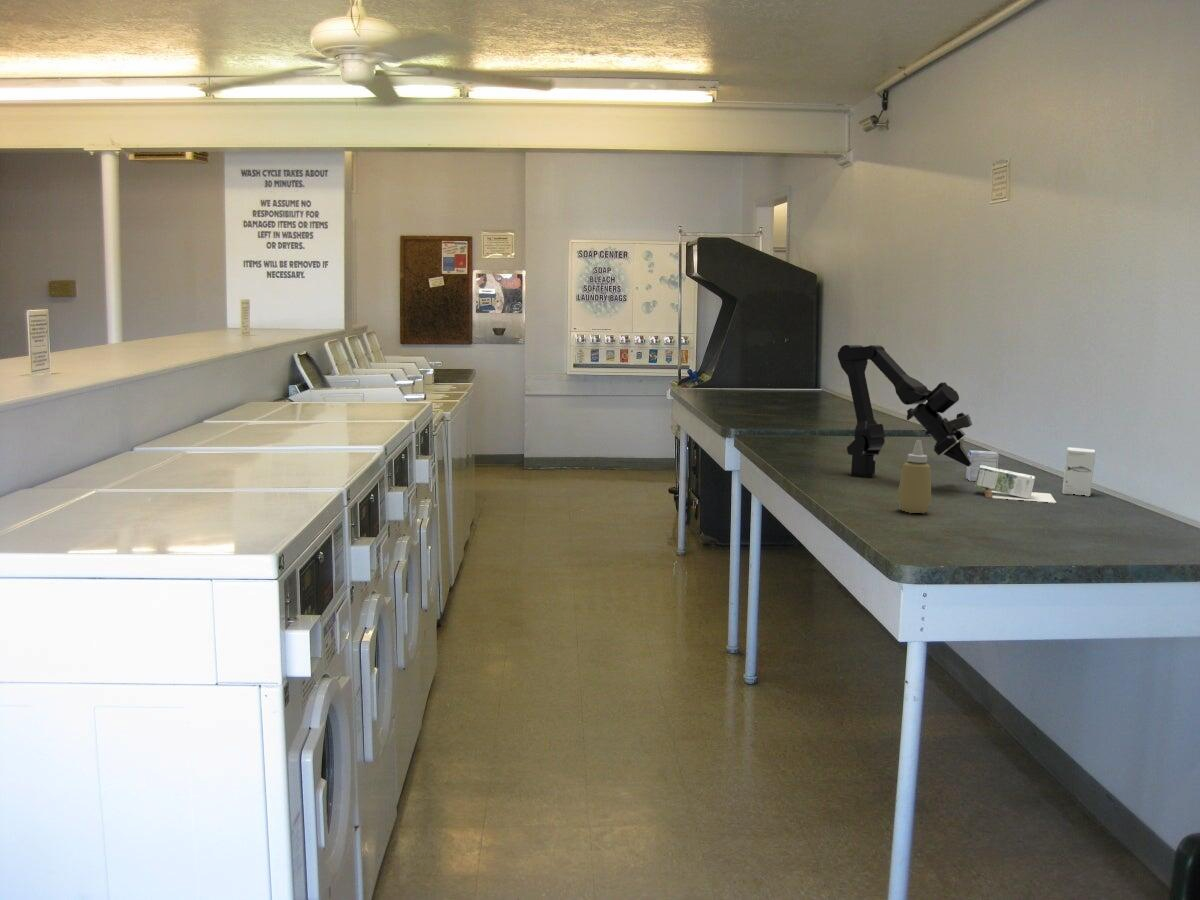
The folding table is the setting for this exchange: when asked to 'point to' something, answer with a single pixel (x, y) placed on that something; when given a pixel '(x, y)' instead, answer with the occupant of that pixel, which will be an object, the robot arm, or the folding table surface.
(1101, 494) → the folding table surface
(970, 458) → the medicine box
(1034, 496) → the mat
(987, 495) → the strip
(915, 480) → the squeeze bottle
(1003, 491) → the syrup box
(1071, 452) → the supplement box
